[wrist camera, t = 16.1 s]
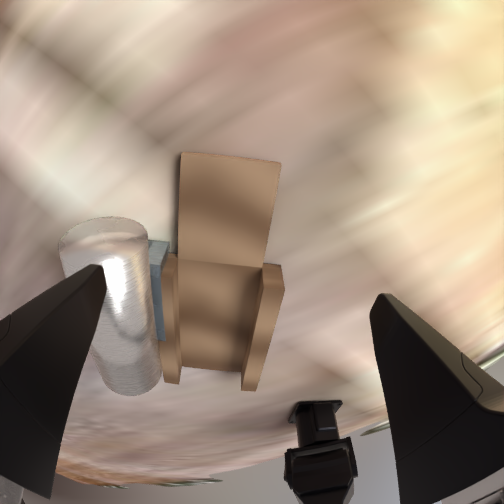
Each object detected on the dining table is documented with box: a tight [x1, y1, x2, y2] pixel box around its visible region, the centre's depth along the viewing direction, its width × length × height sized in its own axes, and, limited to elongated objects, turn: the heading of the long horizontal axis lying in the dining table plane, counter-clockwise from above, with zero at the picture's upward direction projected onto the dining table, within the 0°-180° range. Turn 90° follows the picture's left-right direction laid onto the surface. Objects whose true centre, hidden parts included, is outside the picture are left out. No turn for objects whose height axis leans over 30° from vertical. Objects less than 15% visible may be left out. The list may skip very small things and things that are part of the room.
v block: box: [148, 240, 169, 341], centre depth 22 cm, size 8×6×3 cm
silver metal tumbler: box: [58, 217, 162, 396], centre depth 19 cm, size 13×6×6 cm, turn 172°
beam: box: [158, 152, 285, 391], centre depth 23 cm, size 22×9×3 cm, turn 172°
